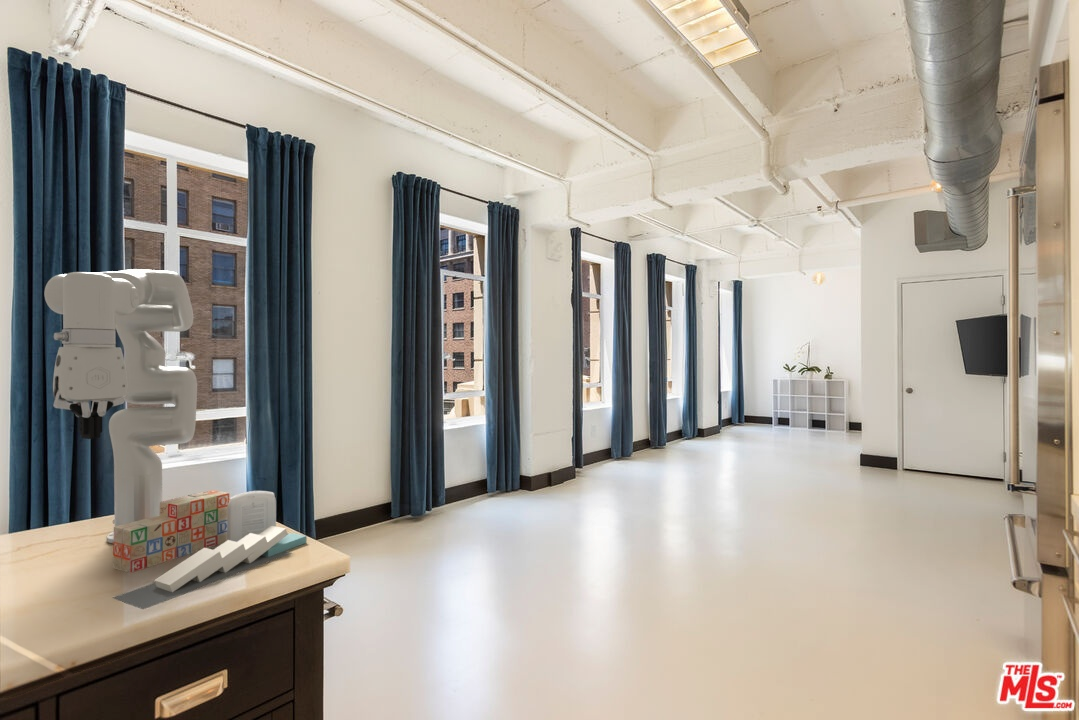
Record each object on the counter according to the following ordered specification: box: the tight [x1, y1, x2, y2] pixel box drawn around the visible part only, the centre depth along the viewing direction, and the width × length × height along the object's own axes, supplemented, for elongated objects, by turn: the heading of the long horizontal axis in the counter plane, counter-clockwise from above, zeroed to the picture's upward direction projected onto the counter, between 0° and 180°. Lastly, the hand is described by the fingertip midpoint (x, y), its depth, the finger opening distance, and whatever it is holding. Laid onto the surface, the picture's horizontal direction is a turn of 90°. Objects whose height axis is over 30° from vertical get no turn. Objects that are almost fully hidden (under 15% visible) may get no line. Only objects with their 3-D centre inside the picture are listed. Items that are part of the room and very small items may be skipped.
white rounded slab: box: [227, 490, 277, 542], centre depth 129 cm, size 10×4×12 cm, turn 124°
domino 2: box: [191, 540, 245, 582], centre depth 111 cm, size 5×2×10 cm
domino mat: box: [112, 550, 292, 610], centre depth 110 cm, size 10×30×1 cm, turn 153°
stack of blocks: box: [112, 490, 230, 574], centre depth 121 cm, size 21×6×12 cm, turn 154°
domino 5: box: [262, 532, 308, 557], centre depth 124 cm, size 5×2×10 cm
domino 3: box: [217, 533, 267, 573], centre depth 115 cm, size 5×2×10 cm
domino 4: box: [241, 526, 289, 563], centre depth 120 cm, size 5×2×10 cm
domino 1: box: [153, 547, 222, 592], centre depth 106 cm, size 5×2×10 cm
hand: (90, 437), depth 102 cm, fingers closed
